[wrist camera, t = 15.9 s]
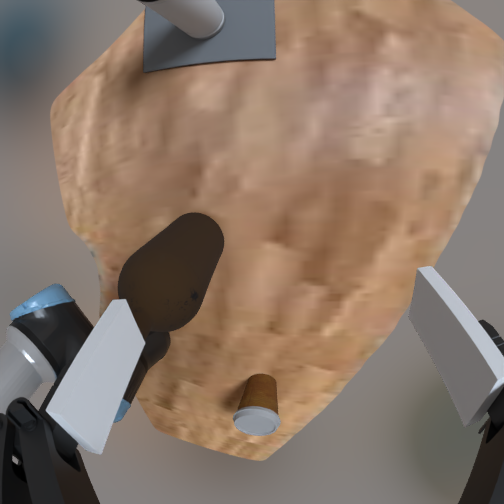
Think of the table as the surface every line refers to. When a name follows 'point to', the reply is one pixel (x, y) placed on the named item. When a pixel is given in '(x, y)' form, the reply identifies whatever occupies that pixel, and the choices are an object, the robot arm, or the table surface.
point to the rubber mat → (217, 47)
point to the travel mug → (191, 15)
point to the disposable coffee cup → (258, 407)
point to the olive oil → (171, 273)
